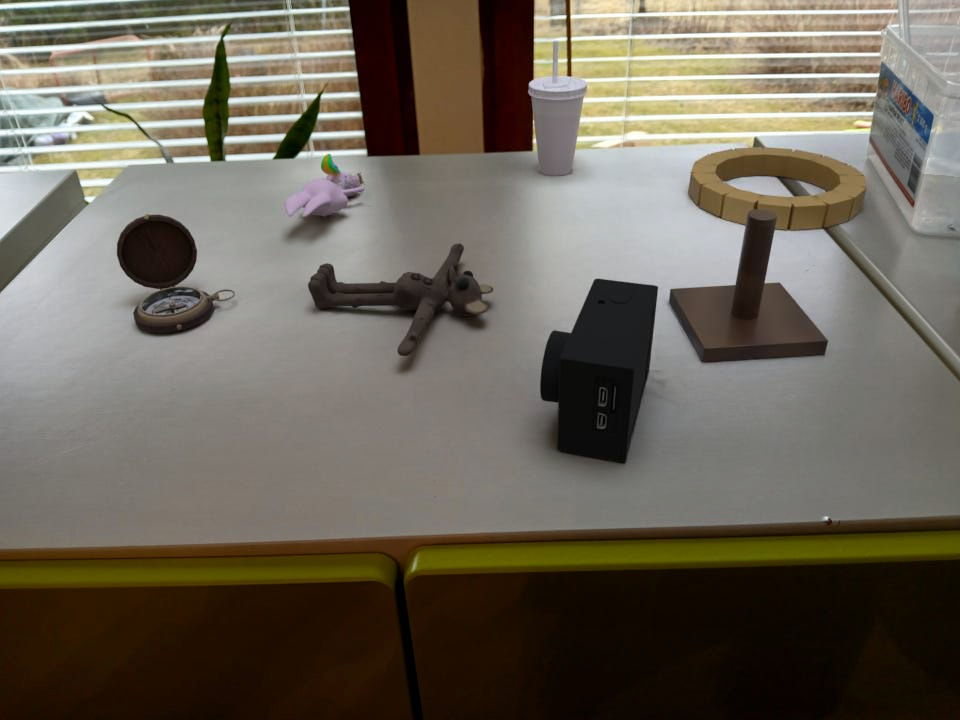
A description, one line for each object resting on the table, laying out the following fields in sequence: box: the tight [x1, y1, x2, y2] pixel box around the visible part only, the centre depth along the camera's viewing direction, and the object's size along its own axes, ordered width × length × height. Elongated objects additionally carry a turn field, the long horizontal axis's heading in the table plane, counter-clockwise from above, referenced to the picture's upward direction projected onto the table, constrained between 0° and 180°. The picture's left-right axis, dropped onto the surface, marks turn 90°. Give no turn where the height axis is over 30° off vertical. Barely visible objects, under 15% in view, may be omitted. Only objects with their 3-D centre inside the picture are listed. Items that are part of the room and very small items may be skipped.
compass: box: [116, 213, 236, 334], centre depth 64 cm, size 8×8×7 cm
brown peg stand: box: [668, 209, 829, 363], centre depth 58 cm, size 9×9×9 cm
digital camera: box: [539, 278, 659, 464], centre depth 51 cm, size 10×5×7 cm, turn 162°
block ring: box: [688, 146, 868, 231], centre depth 81 cm, size 17×17×2 cm
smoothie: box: [527, 40, 588, 177], centre depth 87 cm, size 6×6×14 cm
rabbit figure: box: [284, 153, 366, 218], centre depth 80 cm, size 6×6×15 cm
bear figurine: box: [307, 242, 494, 357], centre depth 64 cm, size 18×4×14 cm
